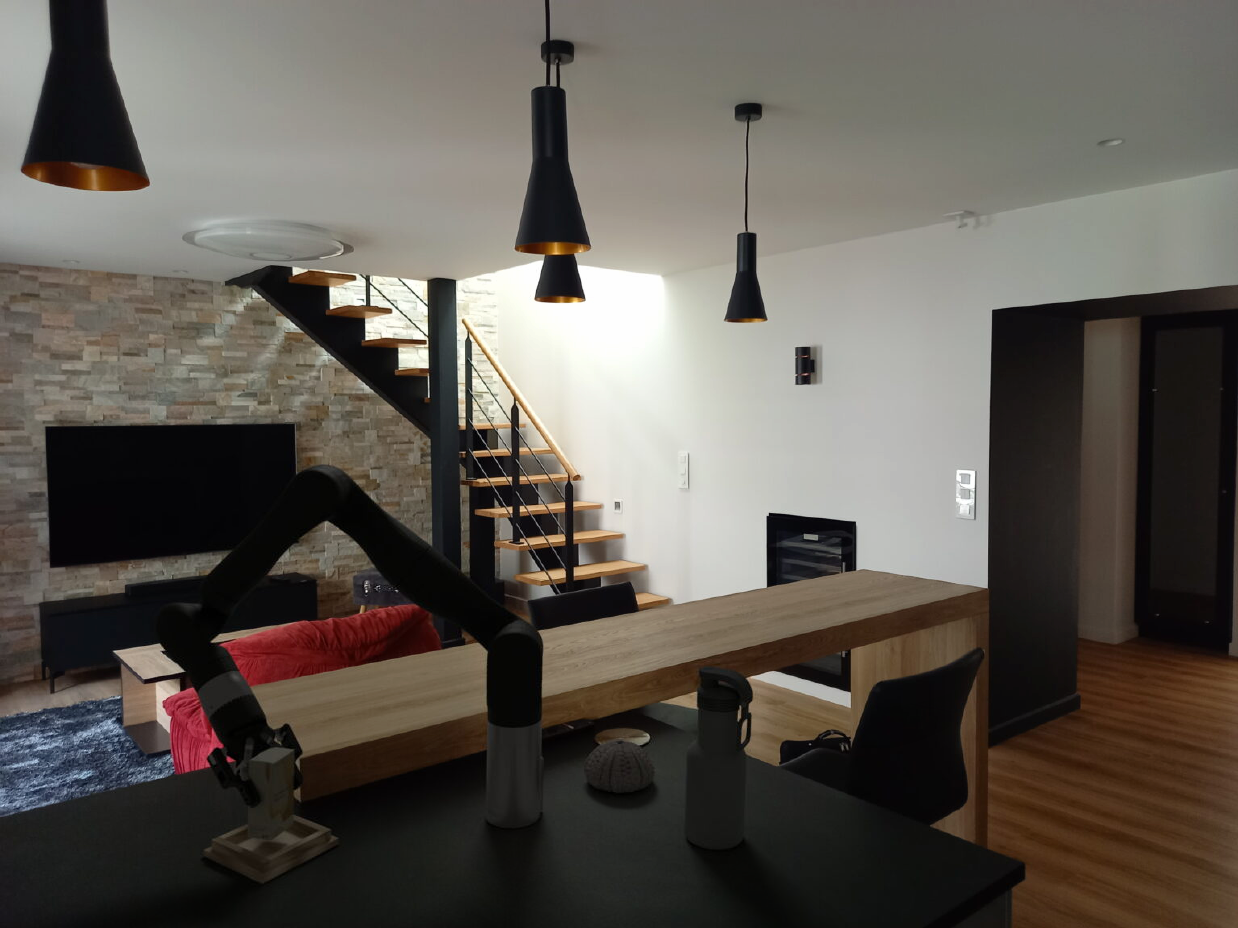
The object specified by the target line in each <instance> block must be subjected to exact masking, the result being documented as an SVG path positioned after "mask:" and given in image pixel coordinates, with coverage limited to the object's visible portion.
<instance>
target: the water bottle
mask: <svg viewBox="0 0 1238 928" xmlns="http://www.w3.org/2000/svg"><path fill="white" fill-rule="evenodd" d="M698 677H699V678H700V683H699V686H698V687H697V689H696V708H697V734H696V735H697V736H696V740H694V741H693V742H692V743H690V745H689V746H688V748H687V751H686V766H685V767H686V768H685V771H686V772H685V773H686V774H685V798H684V799H685V800H684V801H685V802H684V803H685V804H684V835H685V837H686V839H687V840H688V841H689V842H690V843H692V844H693V845H695V846H697V847H699V848H702V849H705V850H706V849H707V850H710V851H711V850H712V851H725V850H729V849H733V848H735V847H737V846H738V845H740V844H741V843H742V841H743V839H744V837H745V835H744V833H745V808H746V807H745V806H746V781H747V752H746V751H745V748H746V747H747V745H749V743H750V741H751V738H752V737H751V736H752V719H753V718H752V716H753V714H752V712H750V710H749V709H750V704H751V703H752V702H753V700H754V691H753V688H752V685H751V683H750V682H749V680H748V679H747V678H746V676H744V675H743V673H740V672H738V671H735V670H732V669H728V668H724V667H723V668H721V667H716V666H709V665H708V666H701V667H699V669H698ZM739 711H740V718H739ZM738 718H739V719H738ZM745 722H746V733H745V734H746V735H745V739H744V740H743V741H742V735H743V734H742V733H743V732H742V731H743V725H744V723H745Z"/></svg>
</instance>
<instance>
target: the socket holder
mask: <svg viewBox="0 0 1238 928" xmlns="http://www.w3.org/2000/svg"><path fill="white" fill-rule="evenodd" d="M338 845H339V837H336V836H334V835H332V829H331V828H328V827H326V826H323V825H321V824H318V823H316V822H314V821H310V820H309V819H306V818H303V817H301V816H298V815H296V814H294V817H293V824H292V825H291V826H290V827H288V828H287V829H286V830H285V831H284V832H282V833H281V834H280V835H278V836H277V837H276V838H274V839H273V840H264V839H256V838H250V837H248V823H246V824H243V825H242V826H240V827H238V828H235V829H233V830H230V831H228V832H226V833H224V834H221V835H219V836H218V837H217V836H216V837H215V838H213V839H211V846H209V847H207V848H205V849H203V857H205V858H207V859H210V860H211V861H213V862H216V863H217V864H219V865H222V866H223V867H226V868H228V869H230V870H232V871H234V872H236V873H238V874H240V875H242V876H245V877H247V878H249V879H251V880H253V881H255V882H257V883H259V884H265V883H267V882H268V881H271V880H272V879H274V878H277V877H278V876H280V875H282V874H284V873H286V872H288V871H290V870H292V869H293V868H295V867H298V866H300V865H302V864H304V863H305V862H307V861H309V860H311V859H313V858H314V857H316V856H318V855H320V854H323V853H324V852H327V851H328V850H331V849H332V848H334V847H337V846H338Z"/></svg>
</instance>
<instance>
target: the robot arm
mask: <svg viewBox="0 0 1238 928" xmlns="http://www.w3.org/2000/svg"><path fill="white" fill-rule="evenodd" d="M325 522H328V523H330V524H332V525H333V526H335V527H336V528H337V529H339V530H340V531H342V532H343V533H344V534H346V535H347V536H348V537H350V539H352V540H353V541H354V542H355V543H356V544H357V545H358V546H359V547H360V548H361V550H362V551H363V552H364V554H365V555H366V556H367V558H368V559H369V561H371V564H372V565H373V566H374V568H375V569H376V570H377V572H378V574H380V575H381V576H382V578H384V580H385V582H387V583H388V584H389V585H390V586H391V587H393V589H395V590H397V591H398V592H399V593H400V594H401V595H402V596H404V597H405V599H407V600H408V601H409V602H411V603H413V605H415V606H417V607H419V608H420V609H421V610H424V611H425V612H427V613H429V614H431V615H434V616H436V617H438V618H439V619H442V620H445V621H447V622H449V623H451V624H454V625H455V626H457V627H459V628H460V629H461V630H463V631H464V632H466V633H467V634H468V635H470V636H471V637H472V638H473V640H475V641H476V642H477V643H478V644H479V645H480V646H482V648H483V649H484V650H485V651H487V655H486V675H485V676H486V679H485V681H486V688H485V689H486V696H485V697H486V698H485V699H486V708H487V711H486V712H487V721H486V722H487V724H486V725H487V726H486V727H487V728H486V729H487V730H486V733H487V734H486V735H487V736H486V742H487V743H486V792H485V793H486V794H485V796H486V797H485V798H486V799H485V818H486V819H485V820H486V821H487V822H488V823H489V824H491V825H492V826H495V827H498V828H501V829H503V828H504V829H520V828H525V827H529V826H530V825H534V823H537V821H539V819H540V816H541V812H543V810H544V778H545V777H544V773H545V771H544V769H545V768H544V767H545V766H544V765H545V762H544V761H545V760H544V757H543V756H542V738H543V737H542V734H543V733H542V728H543V727H542V726H543V724H542V723H543V722H542V721H543V719H542V717H543V670H544V669H543V665H544V664H543V662H544V659H543V658H544V641H543V638H542V635H541V634H540V632H539V631H538V629H537V628H536V627H535V626H534V625H532V624H531V623H530V622H528V621H527V620H525V619H524V618H522V617H520V616H519V615H517V614H516V613H514V612H513V611H511V610H510V609H508V608H507V607H506V606H503V605H502V604H501V603H499V602H497V601H496V600H495V599H494V598H492V597H491V596H489V595H488V594H487V593H486V592H485V591H484V590H482V588H481V587H479V586H478V585H477V583H475V582H474V581H473V580H472V579H471V578H470V577H469V576H467V575H466V574H465V573H464V572H463V571H462V570H461V569H460V568H458V567H457V566H456V565H455V564H454V563H453V562H451V560H449V559H448V558H447V557H446V556H444V555H443V554H442V553H441V552H439V550H437V549H436V548H435V547H434V546H432V545H431V544H430V543H429V542H427V541H425V540H424V539H423V538H421V537H420V536H419V535H418V534H416V532H414V531H413V530H411V529H410V528H408V527H407V526H406V525H405V524H403V523H402V522H401V521H399V520H398V519H397V518H395V517H394V516H392V515H391V514H390V513H388V512H387V511H386V510H384V509H383V508H382V507H381V506H380V505H379V504H377V502H376V501H374V499H373V498H372V497H371V496H369V494H368V493H367V492H366V491H364V489H363V488H362V487H361V486H360V485H359V484H357V482H356V481H355V480H354V479H352V478H351V476H350V475H349V474H348V473H346V472H345V471H344V470H343V469H341V468H339V467H337V466H336V465H332V464H327V463H326V464H324V463H323V464H317V465H314V466H311V467H307V468H305V469H302V470H301V471H298V472H297V473H296V474H295V475H294V476H293V477H292V478H291V479H290V480H289V483H288V484H287V485H286V487H285V488H284V490H283V491H282V493H281V494H280V495H279V497H278V499H276V501H275V502H274V504H273V505H272V507H271V508H270V510H269V511H268V512H267V513H266V515H265V516H264V517H263V518H262V519H261V521H260V522H259V523H258V524H257V525H256V526H255V528H254V529H252V531H251V532H249V534H248V535H247V536H246V537H245V538H244V539H243V540H242V541H241V542H239V543H238V545H236V546H235V547H234V548H233V549H232V550H231V551H230V552H229V553H228V554H227V555H226V556H225V557H224V558H222V560H220V561H219V562H218V564H217V565H216V566H214V568H212V570H210V572H209V573H208V574H207V575H206V576H205V577H204V578H203V579H202V580H201V582H200V584H199V590H198V591H199V594H200V596H201V600H200V601H199V602H197V603H191V602H190V603H189V602H188V603H187V602H173V603H168V604H166V605H165V606H163V607H162V608H160V609H159V611H158V612H157V614H156V615H155V619H154V632H155V633H154V634H155V637H156V639H157V641H158V642H159V645H160V646H161V647H162V649H163V650H164V651H165V652H166V653H167V654H168V655H169V657H170V658H172V660H173V661H174V662H175V663H176V665H177V666H178V667H179V668H180V669H182V670H183V671H184V673H186V675H187V677H188V679H189V682H190V683H191V686H192V687H193V690H194V691H195V693H196V694H197V697H198V700H199V704H200V706H201V709H202V711H203V712H204V714H205V716H206V718H207V721H208V722H209V724H210V726H211V728H212V730H213V733H214V734H215V736H216V738H217V740H218V742H219V743H220V744H222V747H221V748H220V747H218V746H216V747H214V748H213V749H212V751H210V753H209V754H208V755H207V757H206V762H207V763H208V765H209V766H210V769H211V770H212V772H213V773H214V776H215V777H216V779H217V781H218V783H219V785H220V787H221V788H222V789H223V790H227V789H229V788H235V789H237V791H238V792H239V795H240V796H241V798H242V800H243V802H244V804H245V805H246V806H247V807H248V806H250V808H254V807H257V806H258V804H259V803H260V802H261V798H260V796H259V794H258V792H257V790H256V788H255V786H254V784H253V783H252V781H251V780H249V781H248V779H249V760H251V759H252V758H254V757H256V756H257V755H258V754H260V753H262V752H264V751H265V750H267V749H269V748H275V747H277V748H286V749H294V791H296V790H299V789H300V788H301V787H302V785H304V776H303V774H302V772H301V770H300V769H299V766H298V765H297V764H296V763H297V761H298V759H299V758H300V757H301V756H302V755H303V753H304V751H303V748H302V747H301V745H300V743H299V741H298V739H297V736H296V735H295V733H294V731H293V729H292V726H291V725H290V724H289V723H284V724H283V725H282V726H281V727H278V728H272V727H271V726H270V725H269V724H268V720H267V715H266V714H265V712H264V710H263V708H262V706H261V704H260V702H259V701H258V699H257V697H256V696H255V693H254V692H253V690H252V688H251V686H250V684H249V683H248V681H247V680H246V679H245V677H244V676H243V674H242V673H241V671H240V669H239V668H238V666H237V664H236V662H235V659H234V658H233V656H232V655H231V652H229V650H228V649H227V648H226V647H225V646H222V645H219V644H216V643H214V642H213V641H214V640H215V639H216V638H218V636H219V635H221V634H222V632H223V631H224V629H225V627H226V626H227V624H228V622H229V620H230V619H231V618H232V616H233V615H234V612H235V610H236V608H237V607H238V605H239V604H241V603H242V602H243V600H245V599H246V598H247V597H248V596H249V595H250V594H251V593H252V592H253V591H254V590H255V589H256V588H257V587H258V586H259V584H261V583H262V581H263V580H264V579H265V578H266V577H267V575H268V574H269V573H270V572H271V571H272V569H273V568H274V567H275V566H276V564H277V562H278V561H279V560H280V559H281V557H283V556H284V554H285V553H286V552H288V550H289V549H290V548H291V547H292V546H293V545H294V544H295V543H296V542H297V541H299V540H300V539H302V537H304V536H305V535H307V534H308V533H309V532H311V531H312V530H314V529H315V528H317V527H318V526H319V525H321V524H322V523H325ZM228 758H230V759H231V760H233V761H234V765H233V766H234V767H233V769H232V767H231V765H230V763H229V762H228Z"/></svg>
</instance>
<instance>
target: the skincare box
mask: <svg viewBox="0 0 1238 928" xmlns="http://www.w3.org/2000/svg"><path fill="white" fill-rule="evenodd" d="M249 780H251V781H252V783H253V784H254V786H255V788H256V790H257V792H258V794H259V796H260V798H261V802H260V803H259V804H258V806H257V807H254V808H250V806H247V824H248V837H250V838H256V839H264V840H273V839H274V838H276V837H277V836H278V835H280V834H281V833H282V832H284V831H285V830H286V829H287V828H288V827H290V826H291V825H292V824H293V817H294V815H295V814H294V811H295V810H294V808H295V807H294V804H295V802H294V800H295V798H294V796H295V795H294V794H295V793H294V792H295V790H294V749H286V748H277V747H275V748H269V749H267V750H265V751H264V752H262V753H260V754H258V755H257V756H256V757H254V758H252V759H251V760H249V778H248V781H249Z"/></svg>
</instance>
